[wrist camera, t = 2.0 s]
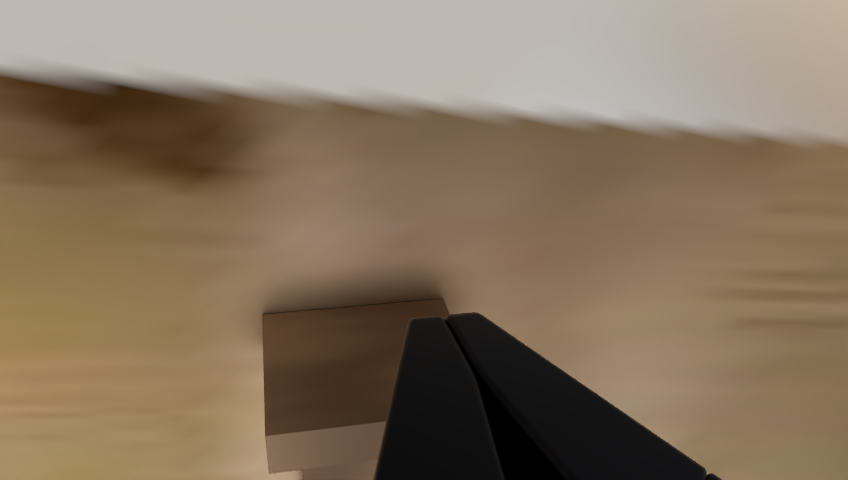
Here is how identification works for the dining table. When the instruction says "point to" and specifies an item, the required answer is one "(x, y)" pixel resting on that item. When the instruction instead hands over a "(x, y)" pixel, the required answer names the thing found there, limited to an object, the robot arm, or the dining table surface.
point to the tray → (333, 385)
